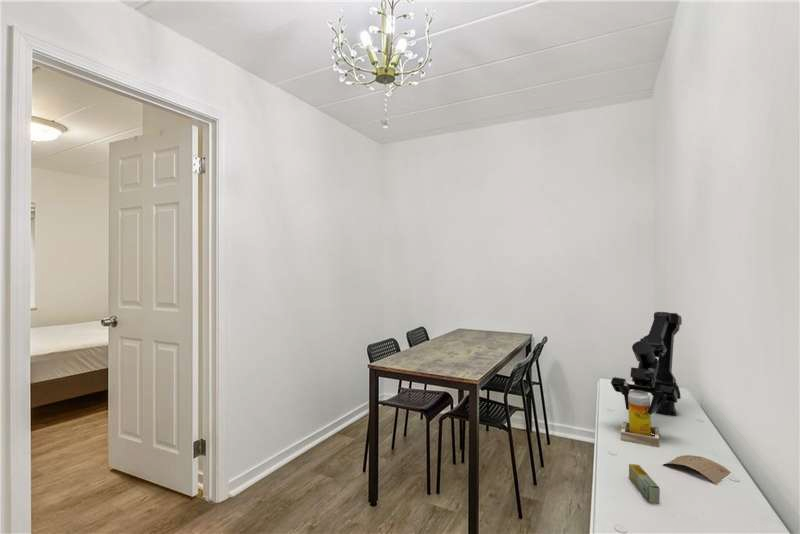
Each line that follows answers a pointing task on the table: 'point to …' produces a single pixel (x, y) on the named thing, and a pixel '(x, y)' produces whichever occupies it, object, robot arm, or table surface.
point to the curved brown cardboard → (703, 467)
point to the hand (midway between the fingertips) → (638, 411)
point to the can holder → (640, 436)
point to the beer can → (639, 412)
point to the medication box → (644, 484)
